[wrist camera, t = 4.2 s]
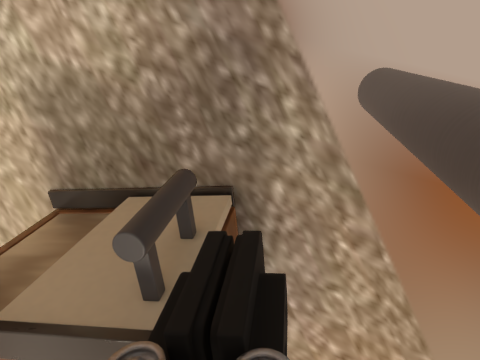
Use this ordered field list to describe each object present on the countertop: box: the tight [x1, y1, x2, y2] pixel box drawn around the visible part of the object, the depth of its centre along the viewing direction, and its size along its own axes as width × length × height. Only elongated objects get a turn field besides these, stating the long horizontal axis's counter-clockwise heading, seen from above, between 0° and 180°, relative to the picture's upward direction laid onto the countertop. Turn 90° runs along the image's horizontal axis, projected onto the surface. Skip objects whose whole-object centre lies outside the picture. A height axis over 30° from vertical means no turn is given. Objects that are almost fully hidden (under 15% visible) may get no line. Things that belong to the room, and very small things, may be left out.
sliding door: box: [0, 169, 232, 330], centre depth 18 cm, size 8×5×13 cm, turn 95°
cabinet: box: [0, 186, 238, 360], centre depth 22 cm, size 16×12×14 cm
